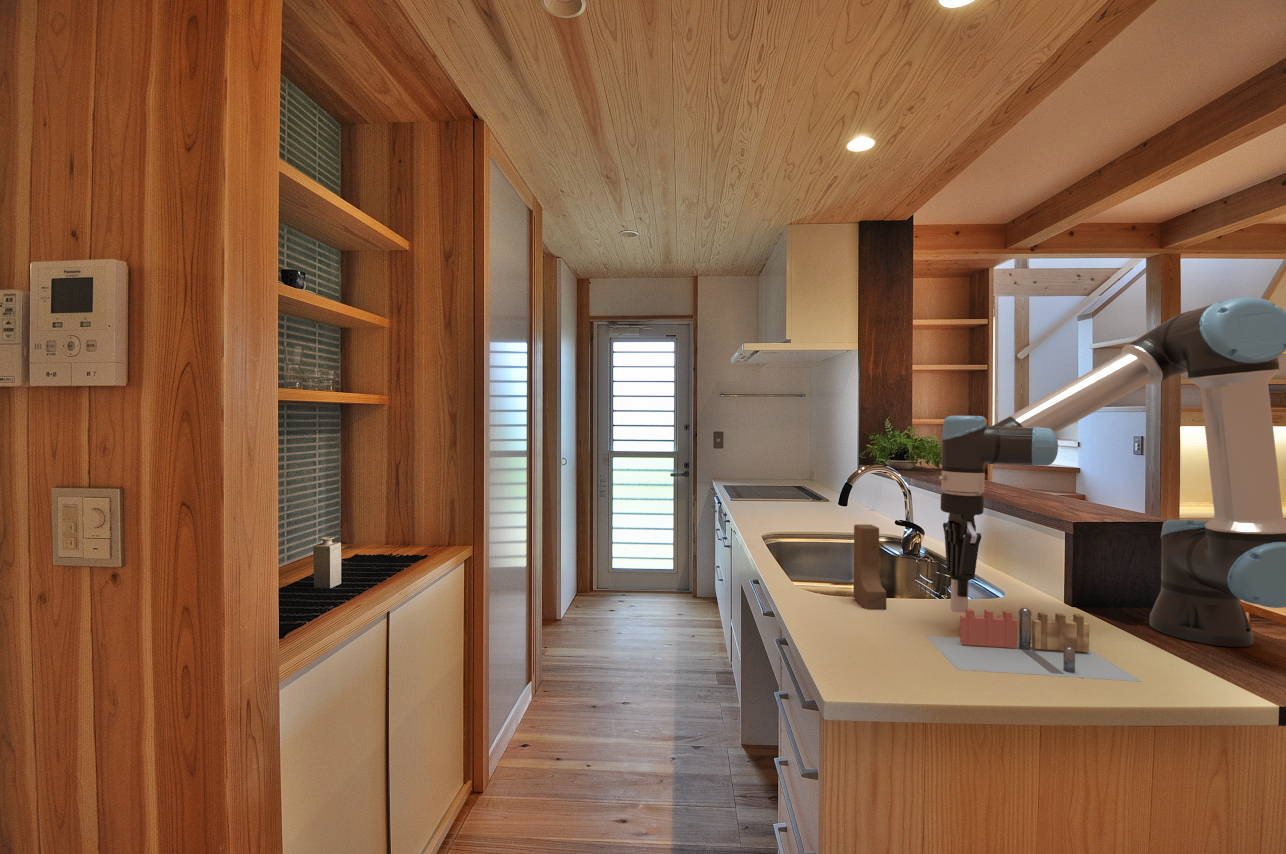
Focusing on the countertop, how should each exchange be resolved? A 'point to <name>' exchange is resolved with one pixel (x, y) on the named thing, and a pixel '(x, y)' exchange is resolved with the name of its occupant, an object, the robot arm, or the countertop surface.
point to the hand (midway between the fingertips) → (959, 611)
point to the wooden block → (867, 568)
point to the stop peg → (1069, 659)
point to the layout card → (1026, 660)
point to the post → (1024, 629)
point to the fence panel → (989, 629)
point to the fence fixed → (1060, 633)
